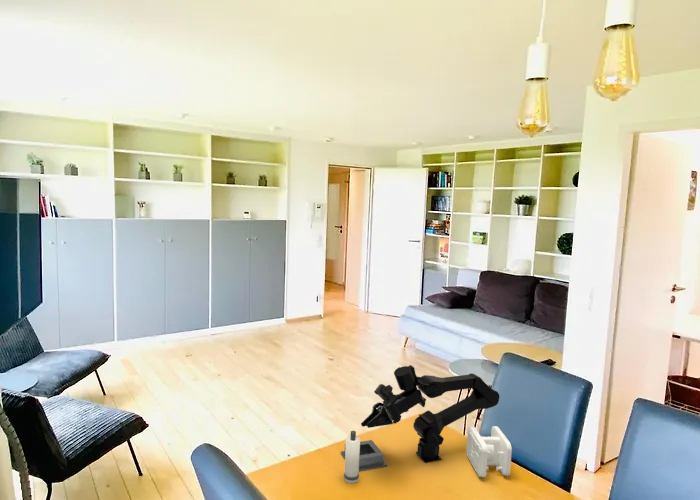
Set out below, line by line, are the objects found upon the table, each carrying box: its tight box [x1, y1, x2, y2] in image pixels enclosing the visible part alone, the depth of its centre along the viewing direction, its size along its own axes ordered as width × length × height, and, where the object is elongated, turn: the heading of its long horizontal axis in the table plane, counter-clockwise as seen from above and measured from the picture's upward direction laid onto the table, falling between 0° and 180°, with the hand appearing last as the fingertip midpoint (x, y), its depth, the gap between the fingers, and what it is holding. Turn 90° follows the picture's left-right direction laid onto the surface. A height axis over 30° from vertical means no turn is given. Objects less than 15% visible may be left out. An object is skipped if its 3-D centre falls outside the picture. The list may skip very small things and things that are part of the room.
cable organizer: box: [466, 425, 513, 478], centre depth 152 cm, size 15×11×12 cm
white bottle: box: [343, 430, 361, 484], centre depth 143 cm, size 5×5×15 cm
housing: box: [340, 439, 389, 473], centre depth 155 cm, size 12×12×4 cm
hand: (364, 425), depth 148 cm, fingers open, 9 cm apart
